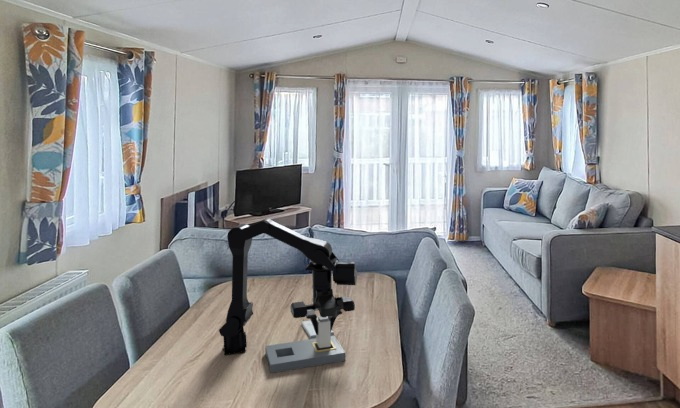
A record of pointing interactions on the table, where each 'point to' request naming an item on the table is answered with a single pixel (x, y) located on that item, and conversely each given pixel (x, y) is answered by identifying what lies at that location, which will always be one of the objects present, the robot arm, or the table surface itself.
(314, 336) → the external hard drive
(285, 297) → the table surface
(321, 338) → the plug
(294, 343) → the panel
